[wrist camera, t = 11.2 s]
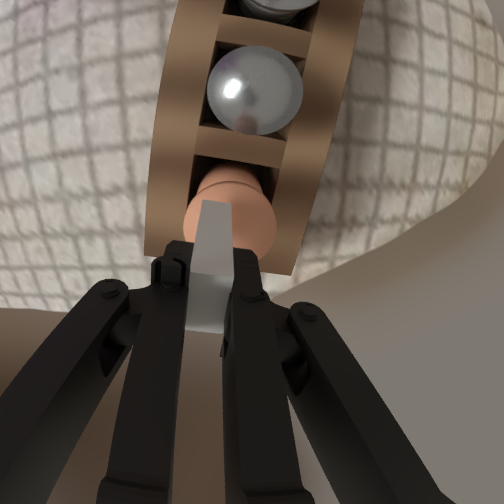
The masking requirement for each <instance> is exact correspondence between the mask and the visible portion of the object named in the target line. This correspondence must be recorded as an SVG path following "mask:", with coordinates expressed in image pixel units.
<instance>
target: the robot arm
mask: <svg viewBox="0 0 504 504" xmlns="http://www.w3.org/2000/svg"><path fill="white" fill-rule="evenodd" d="M258 264H259V263H258V257H257V255H256V254H255V253H254V252H253V251H252V250H250V249H242V248H235V247H233V239H232V211H231V203H224V202H218V201H211V200H204V199H203V200H202V205H201V211H200V216H199V221H198V226H197V232H196V237H195V243H192V242H185V241H178V240H172V241H171V242H170V243H169V244H167V245H166V248H165V252H164V255H163V256H160V257H158V258H156V259H154V260H153V262H152V263H151V285H149V286H148V287H145V288H141V289H131V290H128V286H127V285H126V284H125V283H124V282H122V281H120V280H117V279H104V280H101V281H99V282H97V283H96V284H95V285H94V286H93V287H92V288H91V289H90V290H89V291H88V292H87V293H86V294H85V295H84V296H83V297H82V298H81V300H80V301H79V302H78V303H77V304H76V305H75V306H74V307H73V308H72V309H71V311H70V312H69V313H68V314H67V315H66V316H65V317H64V319H63V320H62V321H61V322H60V323H59V324H58V325H57V326H56V328H55V329H54V330H53V331H52V332H51V334H50V335H49V336H48V337H47V338H46V339H45V341H44V342H43V343H42V344H41V345H40V347H39V348H38V349H37V350H36V352H35V353H34V354H33V355H32V357H31V358H30V359H29V360H28V361H27V363H26V364H25V365H24V366H23V368H22V369H21V370H20V372H19V373H18V374H17V376H16V377H15V378H14V379H13V381H12V382H11V383H10V385H9V386H8V387H7V389H6V390H5V391H4V393H3V394H2V395H1V397H0V504H46V502H47V500H48V498H49V496H50V493H51V492H52V490H53V488H54V486H55V484H56V482H57V480H58V478H59V476H60V474H61V472H62V470H63V468H64V466H65V464H66V463H67V461H68V459H69V457H70V455H71V453H72V451H73V449H74V447H75V446H76V444H77V442H78V440H79V438H80V436H81V435H82V432H83V431H84V429H85V427H86V425H87V424H88V422H89V420H90V418H91V416H92V415H93V413H94V411H95V409H96V408H97V406H98V404H99V402H100V400H101V399H102V397H103V395H104V394H105V392H106V390H107V389H108V387H109V385H110V383H111V382H112V380H113V378H114V377H115V375H116V373H117V372H118V370H119V368H120V367H121V365H122V363H123V361H124V360H125V358H126V357H127V355H128V353H129V352H130V350H131V348H132V345H133V348H132V353H131V356H130V361H129V365H128V368H127V372H126V377H125V381H124V385H123V390H122V394H121V399H120V404H119V408H118V413H117V418H116V423H115V428H114V433H113V439H112V445H111V450H110V456H109V462H108V469H107V473H106V476H105V477H104V478H103V479H102V480H101V483H100V485H99V489H98V493H97V500H96V504H172V486H173V464H174V445H175V430H176V417H177V404H178V393H179V382H180V371H181V362H182V352H183V343H184V332H185V330H192V331H200V332H209V333H218V334H222V333H223V330H224V337H223V343H222V347H221V352H220V357H222V392H223V393H222V395H223V396H222V397H223V444H224V476H225V501H226V504H315V502H314V498H313V497H312V495H311V493H310V492H309V491H307V490H306V489H305V488H304V487H303V485H302V481H301V476H300V469H299V463H298V457H297V452H296V446H295V440H294V434H293V428H292V422H291V416H290V411H289V405H288V399H287V396H288V398H289V400H290V402H291V404H292V406H293V408H294V410H295V413H296V415H297V417H298V419H299V421H300V423H301V425H302V427H303V430H304V432H305V434H306V436H307V438H308V440H309V442H310V444H311V446H312V448H313V450H314V452H315V454H316V456H317V458H318V461H319V462H320V465H321V467H322V469H323V471H324V473H325V475H326V477H327V479H328V481H329V482H330V485H331V487H332V489H333V491H334V493H335V495H336V497H337V499H338V501H339V503H340V504H455V503H454V502H453V501H452V500H450V499H449V498H448V497H447V496H445V495H444V494H443V493H442V492H441V491H440V490H439V488H438V487H437V485H436V483H435V482H434V480H433V478H432V477H431V475H430V473H429V472H428V470H427V469H426V467H425V466H424V464H423V462H422V461H421V459H420V457H419V456H418V454H417V453H416V451H415V449H414V448H413V446H412V445H411V443H410V442H409V440H408V439H407V437H406V435H405V434H404V433H403V431H402V429H401V427H400V426H399V424H398V423H397V421H396V420H395V418H394V417H393V415H392V414H391V412H390V410H389V409H388V407H387V406H386V404H385V403H384V401H383V400H382V398H381V397H380V395H379V393H378V392H377V391H376V389H375V387H374V386H373V384H372V383H371V382H370V380H369V378H368V377H367V375H366V374H365V372H364V371H363V369H362V368H361V366H360V365H359V363H358V362H357V360H356V359H355V357H354V356H353V354H352V353H351V351H350V350H349V348H348V347H347V345H346V344H345V342H344V341H343V340H342V338H341V337H340V335H339V334H338V332H337V331H336V329H335V328H334V326H333V325H332V323H331V322H330V320H329V319H328V318H327V316H326V314H325V313H324V312H323V311H322V310H321V309H320V308H319V307H318V306H316V305H314V304H311V303H308V302H297V303H295V304H293V305H292V306H291V308H290V309H288V308H285V307H282V306H279V305H277V304H275V303H273V302H271V301H270V298H269V296H268V294H267V292H265V291H264V290H263V287H262V281H261V275H260V271H259V265H258Z"/></svg>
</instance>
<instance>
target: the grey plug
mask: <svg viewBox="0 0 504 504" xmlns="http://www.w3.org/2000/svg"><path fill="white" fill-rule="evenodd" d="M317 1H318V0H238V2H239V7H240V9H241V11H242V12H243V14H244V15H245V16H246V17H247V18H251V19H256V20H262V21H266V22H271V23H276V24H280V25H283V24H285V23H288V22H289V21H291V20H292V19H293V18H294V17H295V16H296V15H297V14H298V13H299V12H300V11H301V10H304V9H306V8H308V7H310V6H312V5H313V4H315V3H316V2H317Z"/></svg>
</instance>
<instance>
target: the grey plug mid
mask: <svg viewBox="0 0 504 504" xmlns="http://www.w3.org/2000/svg"><path fill="white" fill-rule="evenodd" d="M207 96H208V101H209V104H210V107H211V109H212V111H213V113H214V114H215V116H216V117H217V118H218V119H219V121H221V122H222V123H223V124H224V125H225V126H227V127H228V128H230V129H232V130H233V131H236V132H238V133H242V134H246V135H265V134H269V133H272V132H275V131H277V130H279V129H281V128H282V127H284V126H285V125H287V124H288V123H289V122H290V121H291V120H292V119H293V118H294V116H295V115H296V113H297V112H298V110H299V108H300V106H301V102H302V98H303V83H302V79H301V76H300V73H299V71H298V69H297V68H296V66H295V65H294V64H293V62H292V61H291V60H290V59H289V58H288V57H286V56H285V55H284V54H282V53H281V52H279V51H277V50H275V49H272V48H269V47H265V46H245V47H241V48H238V49H235V50H233V51H231V52H229V53H228V54H226V55H225V56H224V57H223V58H221V59H220V60H219V61H218V63H217V64H216V65H215V67H214V68H213V70H212V72H211V74H210V76H209V80H208V85H207Z"/></svg>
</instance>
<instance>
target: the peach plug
mask: <svg viewBox="0 0 504 504" xmlns="http://www.w3.org/2000/svg"><path fill="white" fill-rule="evenodd" d="M203 199H204V200H211V201H218V202H224V203H231V211H232V239H233V247H235V248H242V249H250V250H252V251H253V252H254V253H255V254H256V255H257V257H258V260H260V259H261V258H262V257H263V256H264V255H265V254H266V253H267V252H268V251H269V249H270V248H271V246H272V244H273V242H274V239H275V236H276V229H277V225H276V218H275V214H274V211H273V209H272V206H271V204H270V202H269V201H268V199H267V198H266V197H265V195H264V194H263V192H262V189H261V186H260V182H259V180H258V177H257V176H256V174H255V173H254V172H253V171H252V170H251V169H250V168H249V167H247V166H246V165H244V164H241V163H238V162H232V161H230V162H222V163H219V164H216V165H214V166H213V167H211V168H210V169H209V170H208V171H207V172H206V173H205V174H204V175H203V177H202V179H201V182H200V185H199V188H198V191H197V195H196V196H195V197H194V198H193V199H192V201H191V202H190V204H189V206H188V209H187V211H186V214H185V218H184V223H183V231H184V237H185V240H186V242H192V243H195V237H196V232H197V226H198V221H199V216H200V211H201V205H202V200H203Z"/></svg>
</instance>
